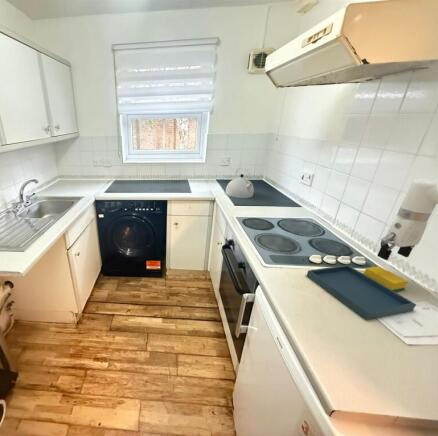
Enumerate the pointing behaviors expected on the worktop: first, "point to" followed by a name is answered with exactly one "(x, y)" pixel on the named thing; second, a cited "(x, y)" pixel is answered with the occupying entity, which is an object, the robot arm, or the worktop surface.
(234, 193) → the kettle
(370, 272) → the sponge
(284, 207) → the worktop surface
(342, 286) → the tray
